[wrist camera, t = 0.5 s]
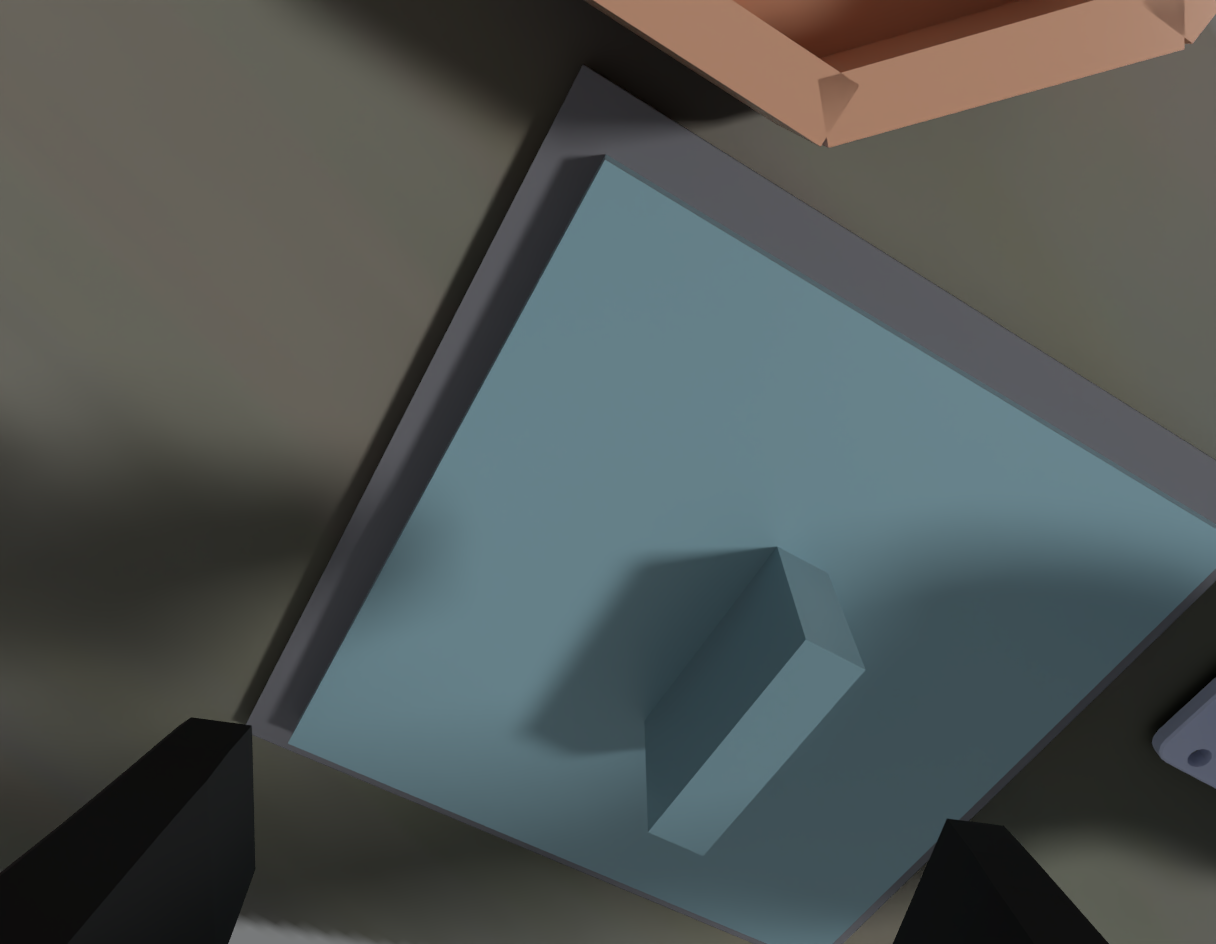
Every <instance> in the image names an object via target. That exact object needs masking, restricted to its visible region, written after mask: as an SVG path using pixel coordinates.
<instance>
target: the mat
mask: <svg viewBox="0 0 1216 944" xmlns="http://www.w3.org/2000/svg"><path fill="white" fill-rule="evenodd" d="M605 155H608V156H610V157H611V158H613V159H614V160H616V161H618V162H619V163H621V164H623V165H624V166H626V167H628V168H629V169H631V170H633V171H634V172H636V173H638V174H639V175H641V176H643V177H644V178H646V179H647V180H649V181H651V182H652V183H654V184H656V185H657V186H659V187H661V188H662V189H664V190H666V191H667V192H669V193H671V194H672V195H674V196H676V197H677V198H679V199H680V200H682V201H684V202H685V203H687V204H689V205H690V206H692V207H694V208H695V209H697V210H699V211H700V212H702V213H704V214H705V215H707V216H709V217H710V218H712V219H713V220H715V221H717V222H718V223H720V224H722V225H723V226H725V227H727V228H728V229H730V230H732V231H733V232H735V233H737V234H738V235H740V236H741V237H743V238H745V239H746V240H748V241H750V242H751V243H753V244H755V245H756V246H758V247H760V248H761V249H763V250H765V251H766V252H768V253H770V254H771V255H773V256H774V257H776V258H778V259H779V260H781V261H783V262H784V263H786V264H788V265H789V266H791V267H793V268H794V269H796V270H798V271H799V272H801V273H803V274H804V275H806V276H807V277H809V278H811V279H812V280H814V281H816V282H817V283H819V284H821V285H822V286H824V287H826V288H827V289H829V290H831V291H832V292H834V293H836V294H837V295H839V296H840V297H842V298H844V299H845V300H847V301H849V302H850V303H852V304H854V305H855V306H857V307H859V308H860V309H862V310H864V311H865V312H867V313H868V314H870V315H872V316H873V317H875V318H877V319H878V320H880V321H882V322H883V323H885V324H887V325H888V326H890V327H892V328H893V329H895V330H897V331H898V332H900V333H901V334H903V335H905V336H906V337H908V338H910V339H911V340H913V341H915V342H916V343H918V344H920V345H921V346H923V347H925V348H926V349H928V350H930V351H931V352H933V353H934V354H936V355H938V356H939V357H941V358H943V359H944V360H946V361H948V362H949V363H951V364H953V365H954V366H956V367H958V368H959V369H961V370H963V371H964V372H966V373H967V374H969V375H971V376H972V377H974V378H976V379H977V380H979V381H981V382H982V383H984V384H986V385H987V386H989V387H991V388H992V389H994V390H995V391H997V392H999V393H1000V394H1002V395H1004V396H1005V397H1007V398H1009V399H1010V400H1012V401H1014V402H1015V403H1017V404H1019V405H1020V406H1022V407H1024V408H1025V409H1027V410H1028V411H1030V412H1032V413H1033V414H1035V415H1037V416H1038V417H1040V418H1042V419H1043V420H1045V421H1047V422H1048V423H1050V424H1052V425H1053V426H1055V427H1057V428H1058V429H1060V430H1061V431H1063V432H1065V433H1066V434H1068V435H1070V436H1071V437H1073V438H1075V439H1076V440H1078V441H1080V442H1081V443H1083V444H1085V445H1086V446H1088V447H1090V448H1091V449H1093V450H1094V451H1096V452H1098V453H1099V454H1101V455H1103V456H1104V457H1106V458H1108V459H1109V460H1111V461H1113V462H1114V463H1116V464H1118V465H1119V466H1121V467H1122V468H1124V469H1126V470H1127V471H1129V472H1131V473H1132V474H1134V475H1136V476H1137V477H1139V478H1141V479H1142V480H1144V481H1146V482H1147V483H1149V484H1151V485H1152V486H1154V487H1155V488H1157V489H1159V490H1160V491H1162V492H1164V493H1165V494H1167V495H1169V496H1170V497H1172V498H1174V499H1175V500H1177V501H1179V502H1180V503H1182V504H1184V505H1185V506H1187V507H1188V508H1190V509H1192V510H1193V511H1195V512H1197V513H1198V514H1200V515H1202V516H1203V517H1205V518H1207V519H1208V520H1210V521H1212V522H1213V523H1215V524H1216V460H1215V459H1213V458H1212V457H1210V456H1208V455H1207V454H1205V453H1204V452H1202V451H1201V450H1199V449H1197V448H1196V447H1194V446H1193V445H1191V444H1189V443H1188V442H1186V441H1185V440H1183V439H1181V438H1180V437H1178V436H1177V435H1175V434H1173V433H1172V432H1170V431H1169V430H1167V429H1165V428H1164V427H1162V426H1161V425H1159V424H1157V423H1156V422H1154V421H1153V420H1151V419H1149V418H1148V417H1146V416H1145V415H1143V414H1141V413H1140V412H1138V411H1137V410H1135V409H1133V408H1132V407H1130V406H1129V405H1127V404H1125V403H1124V402H1122V401H1121V400H1119V399H1117V398H1116V397H1114V396H1113V395H1111V394H1109V393H1108V392H1106V391H1105V390H1103V389H1101V388H1100V387H1098V386H1097V385H1095V384H1094V383H1092V382H1090V381H1089V380H1087V379H1086V378H1084V377H1082V376H1081V375H1079V374H1078V373H1076V372H1074V371H1073V370H1071V369H1070V368H1068V367H1066V366H1065V365H1063V364H1062V363H1060V362H1058V361H1057V360H1055V359H1054V358H1052V357H1050V356H1049V355H1047V354H1046V353H1044V352H1042V351H1041V350H1039V349H1038V348H1036V347H1034V346H1033V345H1031V344H1030V343H1028V342H1026V341H1025V340H1023V339H1022V338H1020V337H1018V336H1017V335H1015V334H1014V333H1012V332H1010V331H1009V330H1007V329H1006V328H1004V327H1002V326H1001V325H999V324H998V323H996V322H994V321H993V320H991V319H990V318H988V317H987V316H985V315H983V314H982V313H980V312H979V311H977V310H975V309H974V308H972V307H971V306H969V305H967V304H966V303H964V302H963V301H961V300H959V299H958V298H956V297H955V296H953V295H951V294H950V293H948V292H947V291H945V290H943V289H942V288H940V287H939V286H937V285H935V284H934V283H932V282H931V281H929V280H927V279H926V278H924V277H923V276H921V275H919V274H918V273H916V272H915V271H913V270H911V269H910V268H908V267H907V266H905V265H903V264H902V263H900V262H899V261H897V260H895V259H894V258H892V257H891V256H889V255H887V254H886V253H884V252H883V251H881V250H880V249H878V248H876V247H875V246H873V245H872V244H870V243H868V242H867V241H865V240H864V239H862V238H860V237H859V236H857V235H856V234H854V233H852V232H851V231H849V230H848V229H846V228H844V227H843V226H841V225H840V224H838V223H836V222H835V221H833V220H832V219H830V218H828V217H827V216H825V215H824V214H822V213H820V212H819V211H817V210H816V209H814V208H812V207H811V206H809V205H808V204H806V203H804V202H803V201H801V200H800V199H798V198H796V197H795V196H793V195H792V194H790V193H788V192H787V191H785V190H784V189H782V188H780V187H779V186H777V185H776V184H774V183H773V182H771V181H769V180H768V179H766V178H765V177H763V176H761V175H760V174H758V173H757V172H755V171H753V170H752V169H750V168H749V167H747V166H745V165H744V164H742V163H741V162H739V161H737V160H736V159H734V158H733V157H731V156H729V155H728V154H726V153H725V152H723V151H721V150H720V149H718V148H717V147H715V146H713V145H712V144H710V143H709V142H707V141H705V140H704V139H702V138H701V137H699V136H697V135H696V134H694V133H693V132H691V131H689V130H688V129H686V128H685V127H683V126H681V125H680V124H678V123H677V122H675V121H673V120H672V119H670V118H669V117H667V116H666V115H664V114H662V113H661V112H659V111H658V110H656V109H654V108H653V107H651V106H650V105H648V104H646V103H645V102H643V101H642V100H640V99H638V98H637V97H635V96H634V95H632V94H630V93H629V92H627V91H626V90H624V89H622V88H621V87H619V86H618V85H616V84H614V83H613V82H611V81H610V80H608V79H606V78H605V77H603V76H602V75H600V74H598V73H597V72H595V71H594V70H592V69H590V68H589V67H587V66H586V65H584V64H583V65H582V67H581V69H580V71H579V73H578V75H577V77H576V79H575V81H574V83H573V85H572V87H571V89H570V91H569V92H568V94H567V96H566V98H565V100H564V102H563V104H562V106H561V108H560V110H559V112H558V114H557V116H556V118H555V120H554V122H553V124H552V126H551V128H550V130H549V132H548V134H547V136H546V138H545V140H544V141H543V143H542V145H541V147H540V149H539V151H538V153H537V155H536V157H535V159H534V161H533V163H532V165H531V167H530V169H529V171H528V173H527V175H526V177H525V179H524V181H523V183H522V185H521V187H520V188H519V190H518V192H517V194H516V196H515V198H514V200H513V202H512V204H511V206H510V208H509V210H508V212H507V214H506V216H505V218H504V220H503V222H502V224H501V226H500V228H499V230H498V232H497V234H496V235H495V237H494V239H493V241H492V243H491V245H490V247H489V249H488V251H487V253H486V255H485V257H484V259H483V261H482V263H481V265H480V267H479V269H478V271H477V273H476V275H475V277H474V279H473V281H472V282H471V284H470V286H469V288H468V290H467V292H466V294H465V296H464V298H463V300H462V302H461V304H460V306H459V308H458V310H457V312H456V314H455V316H454V318H453V320H452V322H451V324H450V326H449V328H448V330H447V331H446V333H445V335H444V337H443V339H442V341H441V343H440V345H439V347H438V349H437V351H436V353H435V355H434V357H433V359H432V361H431V363H430V365H429V367H428V369H427V371H426V373H425V375H424V377H423V378H422V380H421V382H420V384H419V386H418V388H417V390H416V392H415V394H414V396H413V398H412V400H411V402H410V404H409V406H408V408H407V410H406V412H405V414H404V416H403V418H402V420H401V422H400V424H399V425H398V427H397V429H396V431H395V433H394V435H393V437H392V439H391V441H390V443H389V445H388V447H387V449H386V451H385V453H384V455H383V457H382V459H381V461H380V463H379V465H378V467H377V469H376V471H375V472H374V474H373V476H372V478H371V480H370V482H369V484H368V486H367V488H366V490H365V492H364V494H363V496H362V498H361V500H360V502H359V504H358V506H357V508H356V510H355V512H354V514H353V516H352V518H351V520H350V521H349V523H348V525H347V527H346V529H345V531H344V533H343V535H342V537H341V539H340V541H339V543H338V545H337V547H336V549H335V551H334V553H333V555H332V557H331V559H330V561H329V563H328V565H327V567H326V568H325V570H324V572H323V574H322V576H321V578H320V580H319V582H318V584H317V586H316V588H315V590H314V592H313V594H312V596H311V598H310V600H309V602H308V604H307V606H306V608H305V610H304V612H303V614H302V615H301V617H300V619H299V621H298V623H297V625H296V627H295V629H294V631H293V633H292V635H291V637H290V639H289V641H288V643H287V645H286V647H285V649H284V651H283V653H282V655H281V657H280V659H279V661H278V662H277V664H276V666H275V668H274V670H273V672H272V674H271V676H270V678H269V680H268V682H267V684H266V686H265V688H264V690H263V692H262V694H261V696H260V698H259V700H258V702H257V704H256V706H255V708H254V710H253V711H252V713H251V715H250V717H249V719H248V721H247V723H246V725H251V726H252V735H254V736H256V737H259V738H261V739H264V740H266V741H268V742H271V743H273V744H276V745H278V746H280V747H283V748H285V749H288V750H290V751H292V752H295V753H297V754H300V755H302V756H304V757H307V758H309V759H312V760H314V761H316V762H319V763H321V764H324V765H326V766H328V767H331V768H333V769H336V770H338V771H341V772H343V773H345V774H348V775H350V776H353V777H355V778H357V779H360V780H362V781H365V782H367V783H369V784H372V785H374V786H377V787H379V788H381V789H384V790H386V791H389V792H391V793H393V794H396V795H398V796H401V797H403V798H405V799H408V800H410V801H413V802H415V803H417V804H420V805H422V806H425V807H427V808H429V809H432V810H434V811H437V812H439V813H441V814H444V815H446V816H449V817H451V818H453V819H456V820H458V821H461V822H463V823H465V824H468V825H470V826H473V827H475V828H477V829H480V830H482V831H485V832H487V833H489V834H492V835H494V836H497V837H499V838H501V839H504V840H506V841H509V842H511V843H513V844H516V845H518V846H521V847H523V848H525V849H528V850H530V851H533V852H535V853H537V854H540V855H542V856H545V857H547V858H549V859H552V860H554V861H557V862H559V863H561V864H564V865H566V866H569V867H571V868H573V869H576V870H578V871H581V872H583V873H585V874H588V875H590V876H593V877H595V878H597V879H600V880H602V881H605V882H607V883H609V884H612V885H614V886H617V887H619V888H621V889H624V890H626V891H629V892H631V893H633V894H636V895H638V896H641V897H643V898H645V899H648V900H650V901H653V902H655V903H657V904H660V905H662V906H665V907H667V908H670V909H672V910H674V911H677V912H679V913H682V914H684V915H686V916H689V917H691V918H694V919H696V920H698V921H701V922H703V923H706V924H708V925H710V926H713V927H715V928H718V929H720V930H722V931H725V932H727V933H730V934H732V935H734V936H737V937H739V938H742V939H744V940H746V941H749V942H751V943H754V944H766V943H764V942H762V941H759V940H757V939H754V938H752V937H750V936H747V935H745V934H742V933H740V932H738V931H735V930H733V929H731V928H728V927H726V926H723V925H721V924H719V923H716V922H714V921H711V920H709V919H707V918H704V917H702V916H699V915H697V914H695V913H692V912H690V911H687V910H685V909H683V908H680V907H678V906H675V905H673V904H671V903H668V902H666V901H664V900H661V899H659V898H656V897H654V896H652V895H649V894H647V893H644V892H642V891H640V890H637V889H635V888H632V887H630V886H628V885H625V884H623V883H620V882H618V881H616V880H613V879H611V878H608V877H606V876H604V875H601V874H599V873H597V872H594V871H592V870H589V869H587V868H585V867H582V866H580V865H577V864H575V863H573V862H570V861H568V860H565V859H563V858H561V857H558V856H556V855H553V854H551V853H549V852H546V851H544V850H541V849H539V848H537V847H534V846H532V845H530V844H527V843H525V842H522V841H520V840H518V839H515V838H513V837H510V836H508V835H506V834H503V833H501V832H498V831H496V830H494V829H491V828H489V827H486V826H484V825H482V824H479V823H477V822H474V821H472V820H470V819H467V818H465V817H463V816H460V815H458V814H455V813H453V812H451V811H448V810H446V809H443V808H441V807H439V806H436V805H434V804H431V803H429V802H427V801H424V800H422V799H419V798H417V797H415V796H412V795H410V794H407V793H405V792H403V791H400V790H398V789H395V788H393V787H391V786H388V785H386V784H384V783H381V782H379V781H376V780H374V779H372V778H369V777H367V776H364V775H362V774H360V773H357V772H355V771H352V770H350V769H348V768H345V767H343V766H340V765H338V764H336V763H333V762H331V761H328V760H326V759H324V758H321V757H319V756H317V755H314V754H312V753H309V752H307V751H305V750H302V749H300V748H297V747H295V746H293V745H290V744H288V742H289V740H290V738H291V736H292V733H293V731H294V729H295V727H296V725H297V723H298V721H299V719H300V717H301V715H302V713H303V711H304V710H305V708H306V706H307V704H308V702H309V700H310V699H311V697H312V695H313V693H314V691H315V689H316V688H317V686H318V684H319V682H320V680H321V678H322V676H323V675H324V673H325V671H326V669H327V667H328V665H329V664H330V662H331V660H332V658H333V656H334V654H335V652H336V651H337V649H338V647H339V645H340V643H341V641H342V640H343V638H344V636H345V634H346V632H347V630H348V629H349V627H350V625H351V623H352V621H353V619H354V617H355V616H356V614H357V612H358V610H359V608H360V606H361V605H362V603H363V601H364V599H365V597H366V595H367V593H368V592H369V590H370V588H371V586H372V584H373V582H374V581H375V579H376V577H377V575H378V573H379V571H380V570H381V568H382V566H383V564H384V562H385V560H386V558H387V557H388V555H389V553H390V551H391V549H392V547H393V546H394V544H395V542H396V540H397V538H398V536H399V534H400V533H401V531H402V529H403V527H404V525H405V523H406V522H407V520H408V518H409V516H410V514H411V512H412V511H413V509H414V507H415V505H416V503H417V501H418V499H419V498H420V496H421V494H422V492H423V490H424V488H425V487H426V485H427V483H428V481H429V479H430V477H431V475H432V474H433V472H434V470H435V468H436V466H437V464H438V463H439V461H440V459H441V457H442V455H443V453H444V452H445V450H446V448H447V446H448V444H449V442H450V440H451V439H452V437H453V435H454V433H455V431H456V429H457V428H458V426H459V424H460V422H461V420H462V418H463V416H464V415H465V413H466V411H467V409H468V407H469V405H470V404H471V402H472V400H473V398H474V396H475V394H476V393H477V391H478V389H479V387H480V385H481V383H482V381H483V380H484V378H485V376H486V374H487V372H488V370H489V369H490V367H491V365H492V363H493V361H494V359H495V357H496V356H497V354H498V352H499V350H500V348H501V346H502V345H503V343H504V341H505V339H506V337H507V335H508V334H509V332H510V330H511V328H512V326H513V324H514V322H515V321H516V319H517V317H518V315H519V313H520V311H521V310H522V308H523V306H524V304H525V302H526V300H527V298H528V297H529V295H530V293H531V291H532V289H533V287H534V286H535V284H536V282H537V280H538V278H539V276H540V275H541V273H542V271H543V269H544V267H545V265H546V263H547V262H548V260H549V258H550V256H551V254H552V252H553V251H554V249H555V247H556V245H557V243H558V241H559V239H560V238H561V236H562V234H563V232H564V230H565V228H566V227H567V225H568V223H569V221H570V219H571V217H572V216H573V214H574V212H575V210H576V208H577V206H578V204H579V203H580V201H581V199H582V197H583V195H584V193H585V192H586V190H587V188H588V186H589V184H590V182H591V181H592V179H593V177H594V175H595V173H596V171H597V169H598V168H599V166H600V164H601V162H602V160H603V158H604V157H605ZM1215 581H1216V569H1215V570H1214V571H1213V572H1212V573H1211V574H1210V575H1209V576H1208V577H1207V578H1206V579H1205V580H1204V581H1203V582H1202V583H1200V584H1199V585H1198V586H1197V587H1196V588H1195V589H1194V590H1193V591H1192V592H1191V593H1190V594H1189V595H1188V596H1187V597H1186V598H1185V599H1184V600H1183V601H1182V602H1181V603H1180V604H1179V605H1178V606H1177V607H1176V608H1175V609H1174V610H1173V611H1172V612H1171V613H1170V614H1169V615H1168V616H1167V617H1166V618H1165V619H1164V620H1163V621H1162V622H1161V623H1160V624H1159V625H1158V626H1157V627H1156V628H1155V629H1154V630H1152V631H1151V632H1150V633H1149V634H1148V635H1147V636H1146V637H1145V638H1144V639H1143V640H1142V641H1141V642H1140V643H1139V644H1138V645H1137V646H1136V647H1135V648H1134V649H1133V650H1132V651H1131V652H1130V653H1129V654H1128V655H1127V656H1126V657H1125V658H1124V659H1123V660H1122V661H1121V662H1120V663H1119V664H1118V665H1117V666H1116V667H1115V668H1114V669H1113V670H1112V671H1111V672H1110V673H1109V674H1108V675H1107V676H1105V677H1104V678H1103V679H1102V680H1101V681H1100V682H1099V683H1098V684H1097V685H1096V686H1095V687H1094V688H1093V689H1092V690H1091V691H1090V692H1089V693H1088V694H1087V695H1086V696H1085V697H1084V698H1083V699H1082V700H1081V701H1080V702H1079V703H1078V704H1077V705H1076V706H1075V707H1074V708H1073V709H1072V710H1071V711H1070V712H1069V713H1068V714H1067V715H1066V716H1065V717H1064V718H1063V719H1062V720H1061V721H1060V722H1059V723H1057V724H1056V725H1055V726H1054V727H1053V728H1052V729H1051V730H1050V731H1049V732H1048V733H1047V734H1046V735H1045V736H1044V737H1043V738H1042V739H1041V740H1040V741H1039V742H1038V743H1037V744H1036V745H1035V746H1034V747H1033V748H1032V749H1031V750H1030V751H1029V752H1028V753H1027V754H1026V755H1025V756H1024V757H1023V758H1022V759H1021V760H1020V761H1019V762H1018V763H1017V764H1016V765H1015V766H1014V767H1013V768H1012V769H1010V770H1009V771H1008V772H1007V773H1006V774H1005V775H1004V776H1003V777H1002V778H1001V779H1000V780H999V781H998V782H997V783H996V784H995V785H994V786H993V787H992V788H991V789H990V790H989V791H988V792H987V793H986V794H985V795H984V796H983V797H982V798H981V799H980V800H979V801H978V802H977V803H976V804H975V805H974V806H973V807H972V808H971V809H970V810H969V811H968V812H967V813H966V814H965V815H964V816H962V817H961V818H960V819H959V820H962V821H969V820H970V819H971V818H972V817H973V816H975V815H976V814H977V813H978V812H979V811H980V810H981V809H982V808H983V807H984V806H985V805H986V804H987V803H988V802H989V801H990V800H991V799H992V798H993V797H994V796H995V795H996V794H997V793H998V792H999V791H1000V790H1001V789H1002V788H1003V787H1004V786H1005V785H1006V784H1007V783H1008V782H1009V781H1011V780H1012V779H1013V778H1014V777H1015V776H1016V775H1017V774H1018V773H1019V772H1020V771H1021V770H1022V769H1023V768H1024V767H1025V766H1026V765H1027V764H1028V763H1029V762H1030V761H1031V760H1032V759H1033V758H1034V757H1035V756H1036V755H1037V754H1038V753H1039V752H1040V751H1041V750H1042V749H1043V748H1044V747H1045V746H1047V745H1048V744H1049V743H1050V742H1051V741H1052V740H1053V739H1054V738H1055V737H1056V736H1057V735H1058V734H1059V733H1060V732H1061V731H1062V730H1063V729H1064V728H1065V727H1066V726H1067V725H1068V724H1069V723H1070V722H1071V721H1072V720H1073V719H1074V718H1075V717H1076V716H1077V715H1078V714H1079V713H1080V712H1082V711H1083V710H1084V709H1085V708H1086V707H1087V706H1088V705H1089V704H1090V703H1091V702H1092V701H1093V700H1094V699H1095V698H1096V697H1097V696H1098V695H1099V694H1100V693H1101V692H1102V691H1103V690H1104V689H1105V688H1106V687H1107V686H1108V685H1109V684H1110V683H1111V682H1112V681H1113V680H1114V679H1115V678H1116V677H1118V676H1119V675H1120V674H1121V673H1122V672H1123V671H1124V670H1125V669H1126V668H1127V667H1128V666H1129V665H1130V664H1131V663H1132V662H1133V661H1134V660H1135V659H1136V658H1137V657H1138V656H1139V655H1140V654H1141V653H1142V652H1143V651H1144V650H1145V649H1146V648H1147V647H1148V646H1149V645H1150V644H1151V643H1153V642H1154V641H1155V640H1156V639H1157V638H1158V637H1159V636H1160V635H1161V634H1162V633H1163V632H1164V631H1165V630H1166V629H1167V628H1168V627H1169V626H1170V625H1171V624H1172V623H1173V622H1174V621H1175V620H1176V619H1177V618H1178V617H1179V616H1180V615H1181V614H1182V613H1183V612H1184V611H1185V610H1186V609H1187V608H1189V607H1190V606H1191V605H1192V604H1193V603H1194V602H1195V601H1196V600H1197V599H1198V598H1199V597H1200V596H1201V595H1202V594H1203V593H1204V592H1205V591H1206V590H1207V589H1208V588H1209V587H1210V586H1211V585H1212V584H1213V583H1214V582H1215ZM935 845H936V843H935V844H934V845H933V846H932V847H931V848H930V849H929V850H928V851H927V852H926V853H925V854H924V855H923V856H922V857H921V858H920V859H919V860H918V861H917V862H915V863H914V864H913V865H912V866H911V867H910V868H909V869H908V870H907V871H906V872H905V873H904V874H903V875H902V876H901V877H900V878H899V879H898V880H897V881H896V882H895V883H894V884H893V885H892V886H891V887H890V888H889V889H888V890H887V891H886V892H885V893H884V894H883V895H882V896H881V897H880V898H879V899H878V900H877V901H876V902H875V903H874V904H873V905H872V906H871V907H870V908H868V909H867V910H866V911H865V912H864V913H863V914H862V915H861V916H860V917H859V918H858V919H857V920H856V921H855V922H854V923H853V924H852V925H851V926H850V927H849V928H848V929H847V930H846V931H845V932H844V933H843V934H842V935H841V936H840V937H839V938H838V939H837V940H836V941H835V942H834V943H833V944H843V943H844V942H845V941H846V940H847V939H848V938H849V937H850V936H851V935H852V934H853V933H854V932H855V931H856V930H857V929H858V928H859V927H860V926H861V925H862V924H863V923H864V922H865V921H866V920H868V919H869V918H870V917H871V916H872V915H873V914H874V913H875V912H876V911H877V910H878V909H879V908H880V907H881V906H882V905H883V904H884V903H885V902H886V901H887V900H888V899H889V898H890V897H891V896H892V895H893V894H894V893H895V892H896V891H897V890H898V889H899V888H900V887H901V886H902V885H904V884H905V883H906V882H907V881H908V880H909V879H910V878H911V877H912V876H913V875H914V874H915V873H916V872H917V871H918V870H919V869H920V868H921V867H922V866H923V865H924V864H925V863H926V862H927V861H928V860H929V859H930V856H931V854H932V852H933V849H934V847H935Z"/></svg>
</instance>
